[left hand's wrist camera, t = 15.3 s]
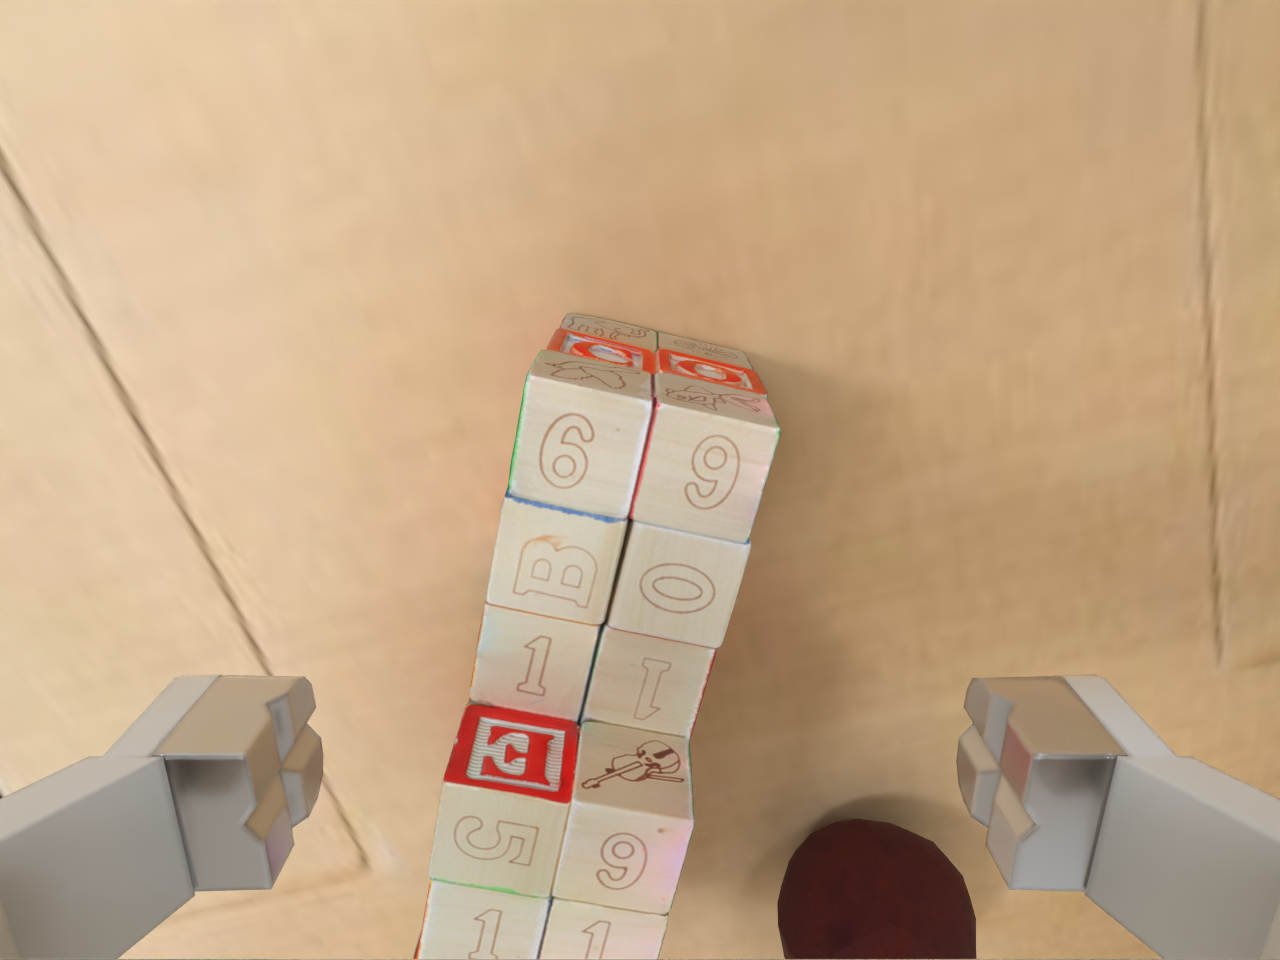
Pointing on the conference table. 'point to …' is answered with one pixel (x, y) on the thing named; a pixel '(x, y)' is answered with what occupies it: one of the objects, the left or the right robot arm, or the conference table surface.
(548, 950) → the stack of blocks
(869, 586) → the conference table surface
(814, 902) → the plum
